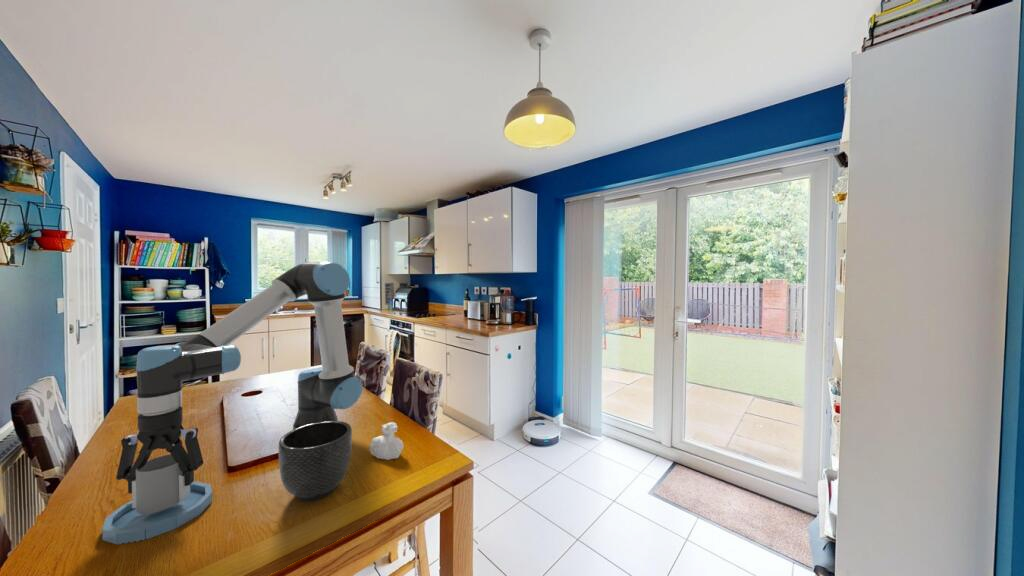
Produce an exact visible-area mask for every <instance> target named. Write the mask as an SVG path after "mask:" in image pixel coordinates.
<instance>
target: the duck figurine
mask: <svg viewBox="0 0 1024 576" xmlns="http://www.w3.org/2000/svg"><path fill="white" fill-rule="evenodd" d="M398 428H399V427H398V426H397V423H396V422H393V421H391V422H387V423H385V424H381V433H382V434H383V435H379V436H377V437H376V436H375V437H373V438H372V439H371V440H370V443H369V451H370V454H371V455H372V456H374V457H376V458H377V459H380V460H386V461H390V460H393V459H394V460H395V459H398V458H399V457H400V455H401V453H402V450H403V448H404V442H403V441H402V439H400V438H399V437H396V436H395V433H397V430H398Z"/></svg>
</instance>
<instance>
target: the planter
mask: <svg viewBox="0 0 1024 576" xmlns="http://www.w3.org/2000/svg"><path fill="white" fill-rule="evenodd" d="M352 438H353V430H352V426H351V425H350V424H349V423H347V422H346V421H339V420H338V421H323V422H316V423H312V424H308V425H304V426H301V427H299V428H296V429H294V430H293V429H292V430H290V431H288V432H287V433H285V434H284V435H283V436H281V438H280V439H279V441H278V466H279V467H278V468H279V473H280V479H281V483H282V485H283V487H284V489H285V490H286V492H288V493H289V494H290V495H292V496H294V497H296V498H297V499H298V500H300V501H301V502H307V503H308V502H315V501H319V500H321V499H324V498H326V497H328V496H330V494H332V493H333V492H334V491H335V489H336V487H337V486H338V485H339V484H340V483H341V482H342V481H343V479H344V478H345V476H346V475H347V472H348V469H349V467H350V462H351V457H352V456H351V454H352V447H353V446H352V444H353V443H352V442H353V439H352Z"/></svg>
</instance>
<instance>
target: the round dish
mask: <svg viewBox="0 0 1024 576" xmlns="http://www.w3.org/2000/svg"><path fill="white" fill-rule="evenodd" d="M212 502H213V490H212V485H211V483H206V482H203V481H202V482H201V481H193V483H192V484H190V495H189V496H188V497H187V498H186V499H185V500H184V501H181V502H179V503H177V504H176V505H174V506H172V507H170V508H167V509H165V510H162V511H159V512H155V513H151V514H139V513H138V512H136V508H132V500H130V501H129V502H126V503H125V504H122V505H120V506H119V508H117V509H115V510H114V511H113V512H112V513H110V514H109V515H107V517H105V519H104V522H103V526H102V531H101V533H102V536H101V537H102V541H104V542H107V543H111V544H114V545H122V543H124V544H129V543H128V542H130V543H135V542H134V541H136V542H140V540H142V541H146V540H145V539H147V540H149V539H151V538H153V537H157V536H160V535H162V534H165V533H168V532H171V531H173V530H177V528H179V527H181V526H183V525H185V524H186V523H188V522H190V521H191V520H193V519H195V518H197V517H198V516H200V515H202V513H203V512H205V510H206V509H207V508H208V507H209V506H210V504H212Z"/></svg>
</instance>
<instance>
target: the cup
mask: <svg viewBox="0 0 1024 576" xmlns="http://www.w3.org/2000/svg"><path fill="white" fill-rule="evenodd" d="M181 473H183V472H182V471H181V469H180V468H179V466H178V463H176V461H175V460H174V458H173V457H172V455H171V453H168V454H164V455H160V456H157V457H153V458H150V459H148V461H147V463H146V464H145V466H143V467H142V468H141V469H139V470H138V467H137V468H136V512H138V513H139V514H151V513H155V512H159V511H162V510H165V509H167V508H170V507H172V506H174V505H176V504H177V503H179V475H180V474H181Z"/></svg>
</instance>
